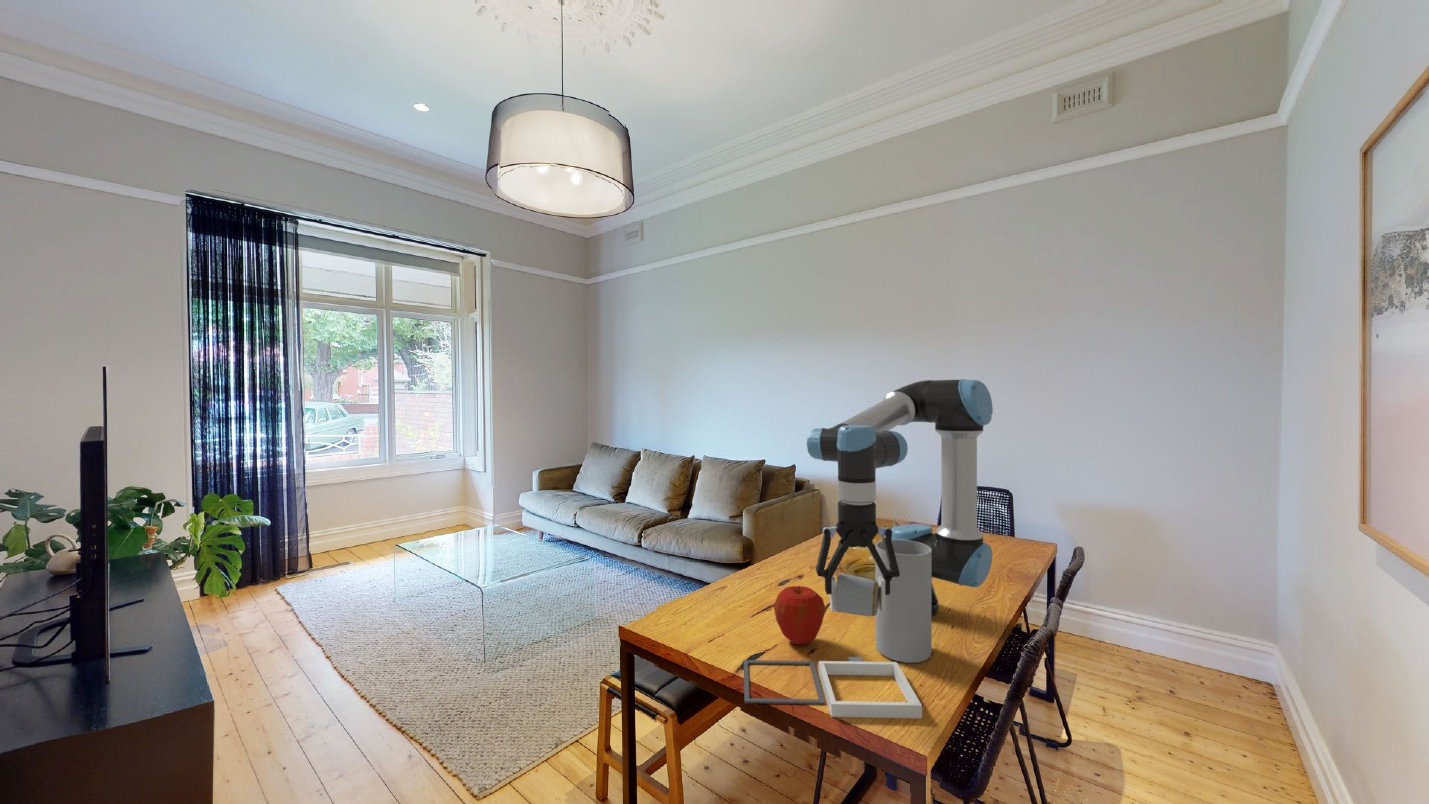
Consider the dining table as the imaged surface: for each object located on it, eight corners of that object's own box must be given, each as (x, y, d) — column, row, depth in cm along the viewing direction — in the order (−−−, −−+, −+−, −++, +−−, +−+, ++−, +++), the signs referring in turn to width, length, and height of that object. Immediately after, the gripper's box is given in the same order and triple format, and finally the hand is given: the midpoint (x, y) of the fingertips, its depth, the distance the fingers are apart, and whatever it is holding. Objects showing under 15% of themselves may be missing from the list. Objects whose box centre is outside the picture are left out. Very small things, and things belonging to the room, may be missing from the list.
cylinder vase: (869, 638, 132) (869, 539, 132) (920, 639, 132) (920, 539, 131) (884, 664, 120) (884, 555, 119) (939, 665, 119) (940, 555, 119)
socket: (893, 668, 118) (893, 657, 118) (922, 718, 100) (922, 705, 100) (817, 667, 119) (817, 656, 119) (831, 717, 101) (831, 704, 101)
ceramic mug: (877, 623, 103) (876, 584, 103) (834, 617, 106) (834, 579, 106) (880, 603, 113) (880, 567, 113) (841, 598, 116) (841, 563, 116)
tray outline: (813, 662, 121) (813, 661, 121) (825, 704, 105) (825, 702, 105) (743, 661, 121) (743, 660, 121) (744, 703, 106) (744, 701, 106)
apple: (765, 644, 130) (765, 587, 130) (789, 626, 139) (789, 573, 139) (811, 659, 122) (810, 599, 122) (833, 639, 132) (833, 583, 132)
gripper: (905, 497, 111) (906, 602, 112) (800, 497, 113) (801, 601, 113) (917, 505, 104) (917, 618, 104) (804, 505, 105) (805, 616, 106)
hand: (857, 609), depth 109 cm, fingers closed on ceramic mug, 9 cm apart
